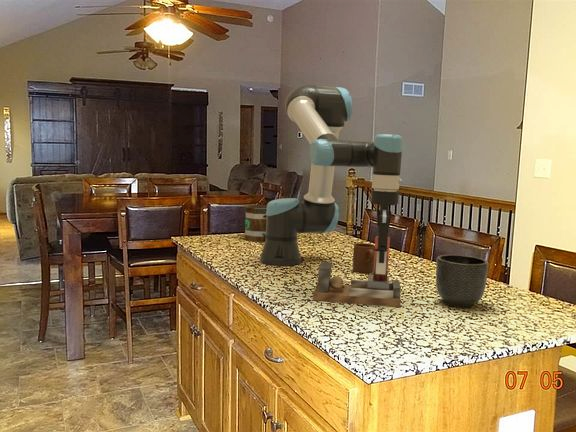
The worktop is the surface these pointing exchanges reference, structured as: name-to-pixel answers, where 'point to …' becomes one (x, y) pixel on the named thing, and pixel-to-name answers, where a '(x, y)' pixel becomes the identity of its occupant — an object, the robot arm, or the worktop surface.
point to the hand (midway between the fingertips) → (380, 271)
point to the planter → (461, 279)
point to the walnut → (336, 282)
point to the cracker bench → (354, 291)
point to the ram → (379, 279)
